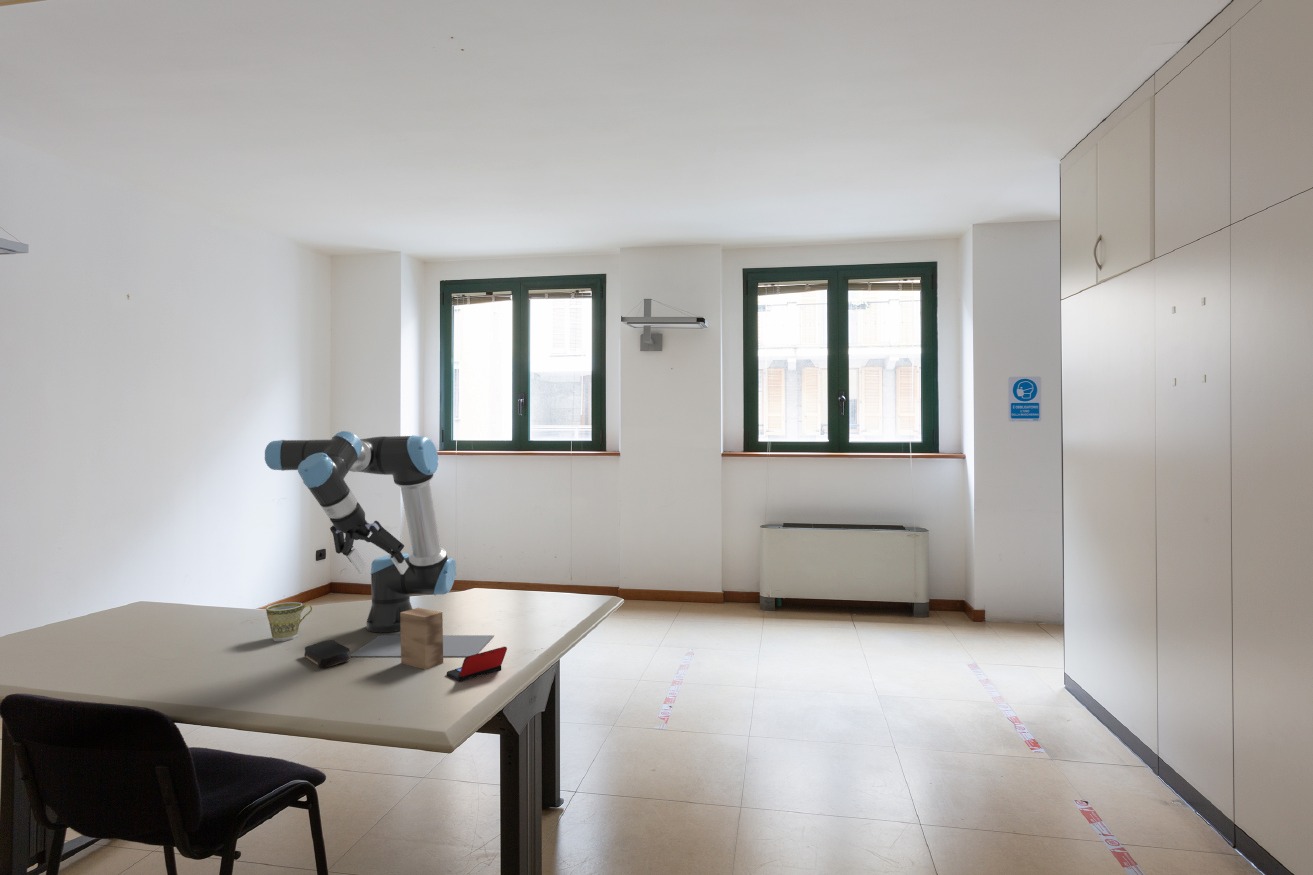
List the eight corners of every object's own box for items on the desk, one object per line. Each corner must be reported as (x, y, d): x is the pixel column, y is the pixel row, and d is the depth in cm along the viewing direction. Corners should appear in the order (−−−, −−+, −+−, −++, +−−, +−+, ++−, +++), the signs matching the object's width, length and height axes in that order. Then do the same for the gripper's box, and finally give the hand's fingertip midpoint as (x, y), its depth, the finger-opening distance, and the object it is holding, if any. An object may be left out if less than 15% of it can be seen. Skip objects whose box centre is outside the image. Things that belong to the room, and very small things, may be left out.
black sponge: (353, 663, 199) (353, 650, 199) (321, 671, 193) (321, 657, 193) (332, 651, 211) (332, 638, 211) (301, 657, 205) (301, 644, 205)
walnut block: (419, 657, 203) (418, 607, 203) (443, 663, 198) (442, 612, 197) (401, 663, 198) (400, 612, 198) (425, 669, 192) (424, 617, 192)
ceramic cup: (271, 645, 216) (270, 611, 216) (263, 638, 224) (262, 606, 224) (317, 636, 225) (316, 604, 225) (307, 629, 232) (307, 598, 232)
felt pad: (379, 636, 224) (379, 635, 224) (494, 636, 222) (494, 635, 222) (349, 656, 204) (349, 655, 204) (474, 657, 202) (474, 656, 202)
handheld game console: (487, 664, 197) (486, 637, 196) (508, 674, 189) (508, 645, 189) (444, 675, 188) (444, 647, 188) (465, 686, 180) (465, 656, 180)
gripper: (295, 521, 178) (338, 579, 190) (375, 520, 169) (415, 581, 181) (314, 500, 184) (354, 559, 195) (392, 498, 175) (430, 559, 186)
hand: (383, 570), depth 188 cm, fingers open, 13 cm apart
